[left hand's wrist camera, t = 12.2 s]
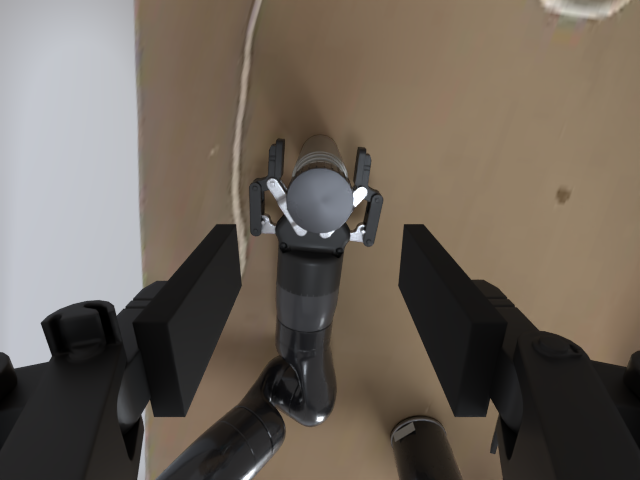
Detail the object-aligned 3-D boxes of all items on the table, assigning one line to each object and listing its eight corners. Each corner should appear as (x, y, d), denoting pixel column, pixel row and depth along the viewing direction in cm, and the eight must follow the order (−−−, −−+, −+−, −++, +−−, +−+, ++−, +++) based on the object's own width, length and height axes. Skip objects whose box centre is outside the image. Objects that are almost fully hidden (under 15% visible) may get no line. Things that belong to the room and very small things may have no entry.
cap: (332, 148, 23) (334, 153, 21) (362, 204, 24) (366, 215, 22) (276, 180, 24) (272, 188, 21) (308, 233, 25) (307, 245, 23)
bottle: (327, 127, 41) (334, 150, 21) (344, 161, 43) (367, 213, 22) (294, 146, 42) (270, 186, 22) (312, 178, 44) (306, 244, 23)
